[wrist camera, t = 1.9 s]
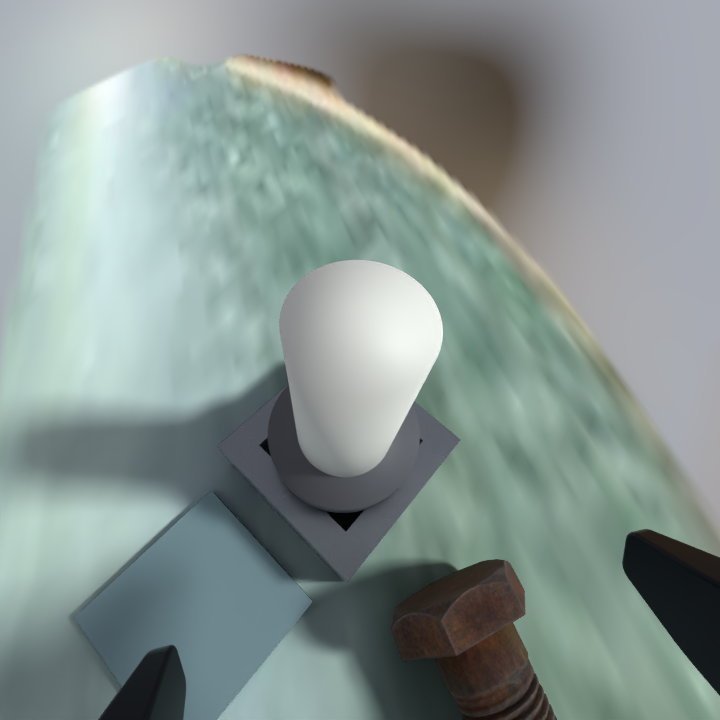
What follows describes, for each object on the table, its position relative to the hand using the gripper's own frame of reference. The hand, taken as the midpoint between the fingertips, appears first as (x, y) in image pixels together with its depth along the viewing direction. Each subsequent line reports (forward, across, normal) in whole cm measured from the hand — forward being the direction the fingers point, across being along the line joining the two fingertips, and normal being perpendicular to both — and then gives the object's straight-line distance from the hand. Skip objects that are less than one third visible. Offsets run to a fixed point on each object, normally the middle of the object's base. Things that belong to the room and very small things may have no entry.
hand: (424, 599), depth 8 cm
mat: (+9, +7, +8) cm, 14 cm away
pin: (+13, 0, +4) cm, 14 cm away
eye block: (+13, 0, +4) cm, 14 cm away
